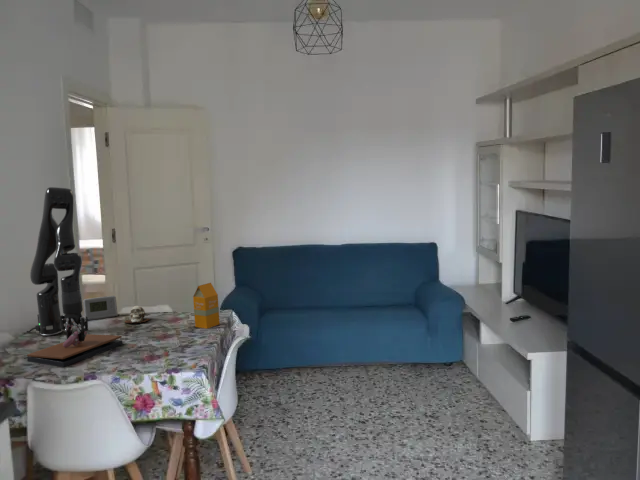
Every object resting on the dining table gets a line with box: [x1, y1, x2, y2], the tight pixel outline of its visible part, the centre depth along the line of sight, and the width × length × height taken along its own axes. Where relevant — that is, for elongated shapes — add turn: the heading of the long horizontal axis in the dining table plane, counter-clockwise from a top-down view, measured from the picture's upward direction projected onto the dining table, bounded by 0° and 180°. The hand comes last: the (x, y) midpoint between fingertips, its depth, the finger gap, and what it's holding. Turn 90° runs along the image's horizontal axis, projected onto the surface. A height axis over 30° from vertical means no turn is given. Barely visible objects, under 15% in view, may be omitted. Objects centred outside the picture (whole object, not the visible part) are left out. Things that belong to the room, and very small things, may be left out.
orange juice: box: [192, 282, 221, 330], centre depth 269 cm, size 8×9×20 cm
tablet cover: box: [26, 333, 123, 359], centre depth 236 cm, size 21×30×1 cm
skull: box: [124, 305, 151, 324], centre depth 283 cm, size 12×10×10 cm
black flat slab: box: [26, 339, 123, 368], centre depth 236 cm, size 21×30×2 cm
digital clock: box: [82, 295, 119, 321], centre depth 294 cm, size 16×9×11 cm, turn 103°
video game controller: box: [62, 330, 88, 348], centre depth 235 cm, size 10×5×7 cm, turn 168°
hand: (75, 340), depth 236 cm, fingers closed on video game controller, 6 cm apart
